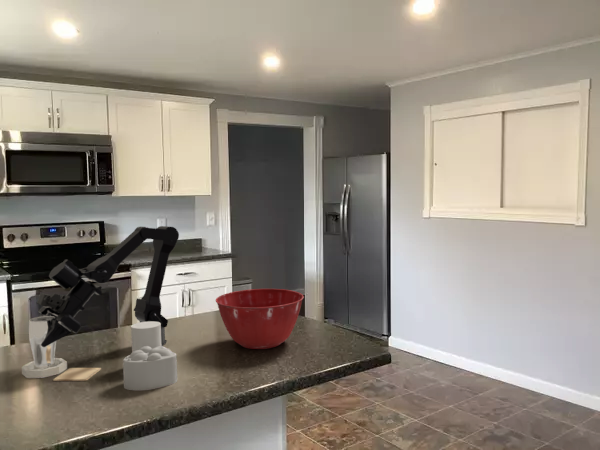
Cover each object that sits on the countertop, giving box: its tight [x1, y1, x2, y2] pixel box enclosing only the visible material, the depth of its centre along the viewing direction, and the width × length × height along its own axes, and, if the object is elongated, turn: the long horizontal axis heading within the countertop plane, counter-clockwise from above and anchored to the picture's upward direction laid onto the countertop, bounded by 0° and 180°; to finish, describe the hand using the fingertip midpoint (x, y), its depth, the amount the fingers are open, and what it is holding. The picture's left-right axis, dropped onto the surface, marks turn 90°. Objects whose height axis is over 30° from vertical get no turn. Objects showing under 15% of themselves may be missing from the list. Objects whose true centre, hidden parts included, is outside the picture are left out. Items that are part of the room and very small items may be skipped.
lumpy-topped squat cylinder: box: [122, 345, 178, 391], centre depth 134 cm, size 10×13×9 cm
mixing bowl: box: [215, 288, 305, 350], centre depth 167 cm, size 28×28×15 cm
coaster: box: [52, 367, 102, 382], centre depth 141 cm, size 9×9×1 cm
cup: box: [130, 321, 162, 353], centre depth 147 cm, size 8×8×12 cm
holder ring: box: [21, 357, 68, 379], centre depth 144 cm, size 11×11×2 cm
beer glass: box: [28, 316, 57, 369], centre depth 144 cm, size 7×7×15 cm
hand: (38, 343), depth 143 cm, fingers closed on beer glass, 6 cm apart
